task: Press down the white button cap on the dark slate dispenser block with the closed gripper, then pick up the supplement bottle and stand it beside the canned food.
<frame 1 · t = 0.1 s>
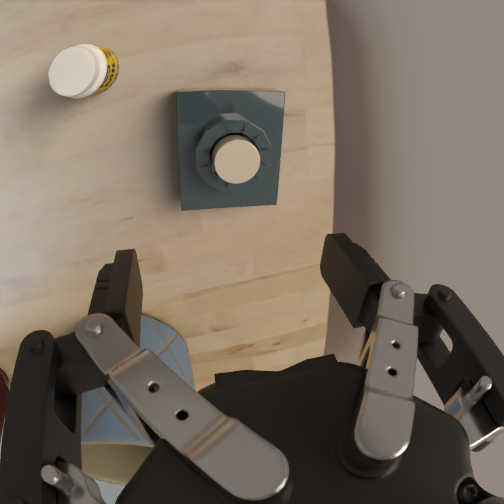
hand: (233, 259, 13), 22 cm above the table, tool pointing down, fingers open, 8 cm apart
planter: (132, 348, 45), on the table
white button cap: (235, 158, 27), point 6 cm above the table, slide at 0.1 cm
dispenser: (226, 143, 31), on the table
supplement bottle: (97, 70, 24), on the table
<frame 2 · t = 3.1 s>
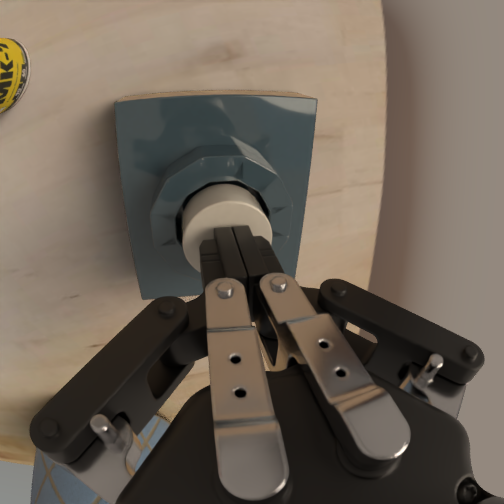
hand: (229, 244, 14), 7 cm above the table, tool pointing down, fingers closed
planter: (108, 424, 33), on the table
white button cap: (225, 231, 15), point 6 cm above the table, slide at 0.0 cm, touching gripper
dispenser: (212, 186, 19), on the table
supplement bottle: (3, 75, 12), on the table
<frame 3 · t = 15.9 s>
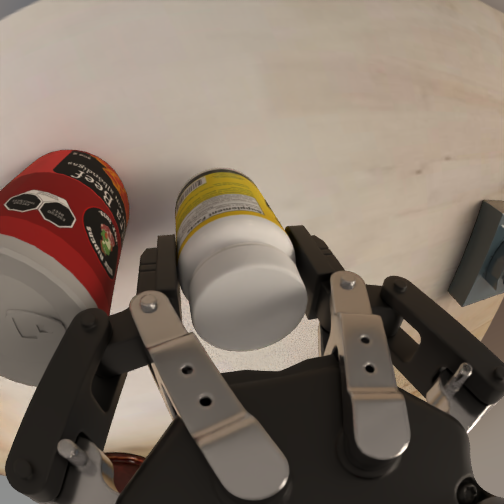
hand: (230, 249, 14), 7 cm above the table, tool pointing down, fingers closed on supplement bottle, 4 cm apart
canned food: (73, 202, 18), on the table
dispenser: (488, 245, 30), on the table
vase: (124, 460, 40), on the table
supplement bottle: (217, 204, 17), point 2 cm above the table, touching gripper
when the fingers open (7 cm above the table, at t = 20.8 s): supplement bottle drops 3 cm, on the table.
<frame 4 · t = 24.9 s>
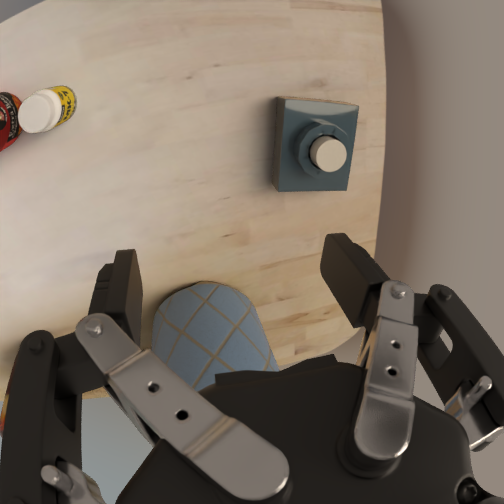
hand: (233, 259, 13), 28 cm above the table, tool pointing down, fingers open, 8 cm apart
planter: (204, 319, 53), on the table
canned food: (3, 119, 28), on the table
white button cap: (328, 153, 35), point 6 cm above the table, slide at 0.1 cm
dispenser: (310, 141, 40), on the table
supplement bottle: (61, 103, 30), on the table
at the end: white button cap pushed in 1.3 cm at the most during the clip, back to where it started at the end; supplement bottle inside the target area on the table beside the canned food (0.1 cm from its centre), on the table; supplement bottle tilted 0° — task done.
